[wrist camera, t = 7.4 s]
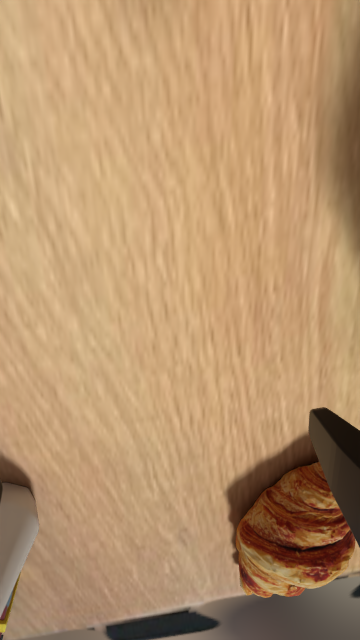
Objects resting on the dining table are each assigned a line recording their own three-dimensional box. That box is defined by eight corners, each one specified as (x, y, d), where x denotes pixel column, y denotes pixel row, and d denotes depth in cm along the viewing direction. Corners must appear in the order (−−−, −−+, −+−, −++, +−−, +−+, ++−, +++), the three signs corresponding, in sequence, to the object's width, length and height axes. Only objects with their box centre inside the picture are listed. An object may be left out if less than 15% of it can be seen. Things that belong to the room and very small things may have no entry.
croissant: (257, 538, 42) (308, 609, 37) (192, 580, 36) (242, 672, 31) (342, 414, 32) (427, 487, 27) (272, 444, 26) (364, 546, 21)
